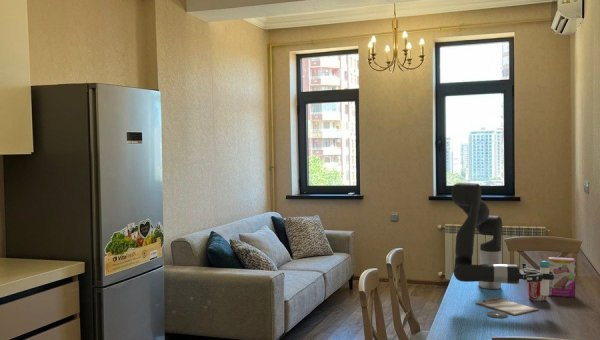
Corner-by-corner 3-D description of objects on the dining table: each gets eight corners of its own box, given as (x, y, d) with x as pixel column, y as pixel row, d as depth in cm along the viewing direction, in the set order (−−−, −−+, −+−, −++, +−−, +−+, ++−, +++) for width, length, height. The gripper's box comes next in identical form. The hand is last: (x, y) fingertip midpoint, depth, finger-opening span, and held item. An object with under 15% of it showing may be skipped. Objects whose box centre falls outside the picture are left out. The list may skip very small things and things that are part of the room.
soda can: (548, 302, 250) (548, 273, 250) (530, 301, 252) (530, 273, 251) (544, 297, 257) (544, 270, 257) (527, 297, 259) (527, 269, 258)
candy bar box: (547, 296, 260) (547, 258, 259) (546, 293, 265) (547, 256, 264) (575, 298, 256) (576, 260, 255) (574, 295, 261) (574, 257, 260)
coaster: (482, 314, 234) (482, 312, 234) (496, 311, 238) (496, 309, 238) (497, 319, 227) (497, 318, 227) (512, 316, 231) (512, 314, 231)
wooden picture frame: (475, 303, 249) (475, 300, 249) (499, 299, 256) (499, 296, 256) (514, 315, 232) (514, 312, 231) (538, 310, 238) (538, 307, 238)
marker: (538, 294, 233) (538, 261, 232) (543, 292, 235) (544, 260, 234) (545, 296, 230) (545, 262, 229) (551, 294, 232) (551, 261, 231)
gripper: (507, 268, 229) (555, 270, 224) (504, 260, 242) (550, 262, 238) (507, 287, 229) (555, 290, 225) (504, 278, 243) (550, 280, 238)
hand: (552, 275), depth 231 cm, fingers closed on marker, 3 cm apart
